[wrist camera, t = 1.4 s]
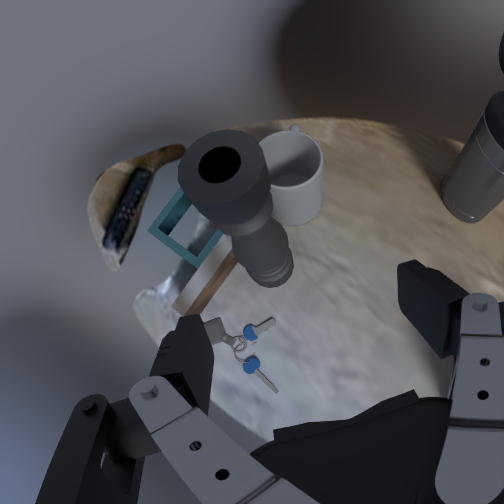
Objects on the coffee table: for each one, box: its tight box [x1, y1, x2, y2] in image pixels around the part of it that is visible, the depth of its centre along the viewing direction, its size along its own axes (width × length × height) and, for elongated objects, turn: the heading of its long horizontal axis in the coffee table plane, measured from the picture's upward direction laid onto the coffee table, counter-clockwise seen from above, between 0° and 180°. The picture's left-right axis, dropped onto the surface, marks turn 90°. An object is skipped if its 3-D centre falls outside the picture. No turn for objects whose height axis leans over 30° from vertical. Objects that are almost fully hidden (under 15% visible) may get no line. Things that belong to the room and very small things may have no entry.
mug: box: [258, 124, 323, 226], centre depth 40 cm, size 12×8×11 cm
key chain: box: [203, 318, 278, 393], centre depth 40 cm, size 14×8×1 cm, turn 56°
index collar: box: [148, 188, 224, 269], centre depth 44 cm, size 10×10×4 cm
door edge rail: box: [171, 234, 238, 316], centre depth 41 cm, size 17×2×5 cm, turn 144°
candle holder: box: [178, 130, 294, 288], centre depth 30 cm, size 6×6×25 cm
